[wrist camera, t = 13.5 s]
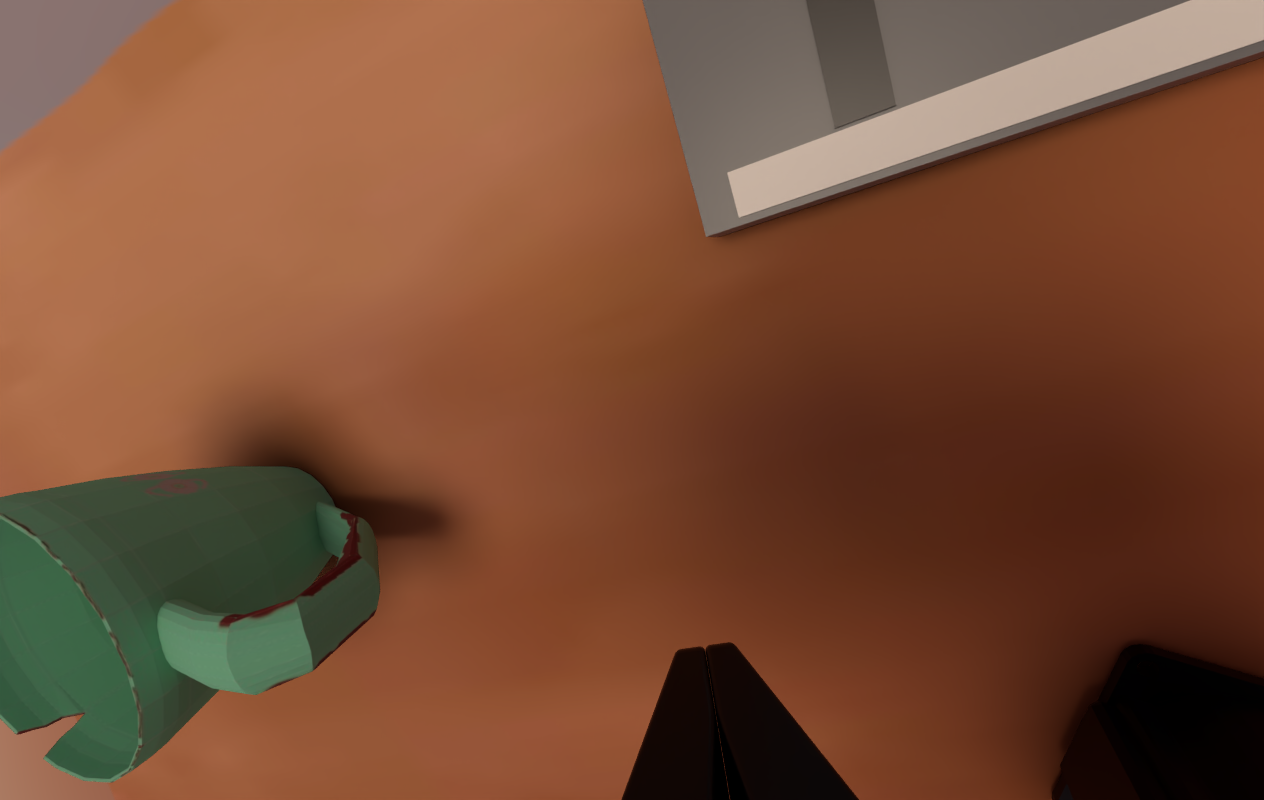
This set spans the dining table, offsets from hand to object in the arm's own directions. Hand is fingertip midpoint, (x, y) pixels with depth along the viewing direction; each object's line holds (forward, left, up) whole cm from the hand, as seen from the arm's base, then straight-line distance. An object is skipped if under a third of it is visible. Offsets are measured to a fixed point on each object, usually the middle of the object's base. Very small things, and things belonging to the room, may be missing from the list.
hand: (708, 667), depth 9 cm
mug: (+18, +9, -11) cm, 23 cm away
